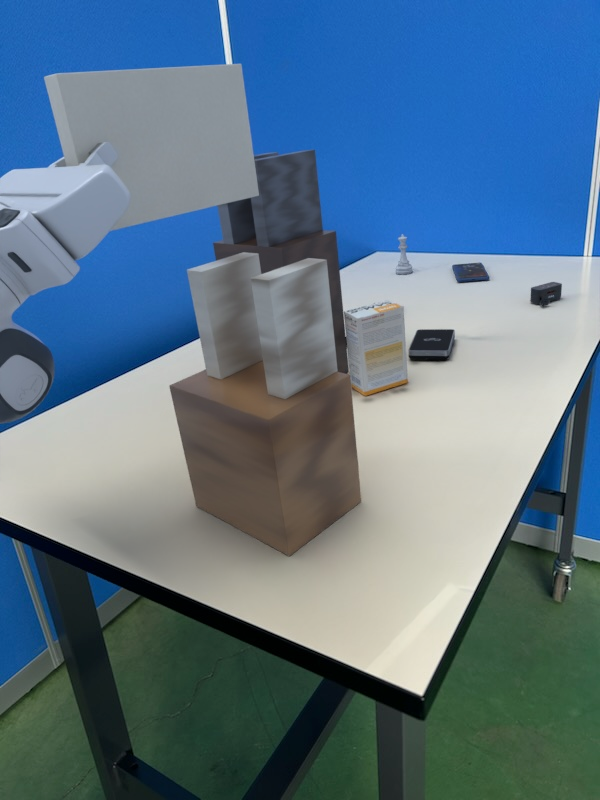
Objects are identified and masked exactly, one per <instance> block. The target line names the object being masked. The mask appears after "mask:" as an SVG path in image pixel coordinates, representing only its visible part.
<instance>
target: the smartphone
mask: <svg viewBox="0 0 600 800" xmlns="http://www.w3.org/2000/svg"><path fill="white" fill-rule="evenodd" d="M451 268H452V271H453V273H454V276H455V278H456V281H457V282H458V283H461V282H462V283H463V282H475V281H487V280H490V278H491V277H490V275H489V273H488V272H487V269H485V266H484V264H483V263H482V262H468V263H458V264H452V265H451Z"/></svg>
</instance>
